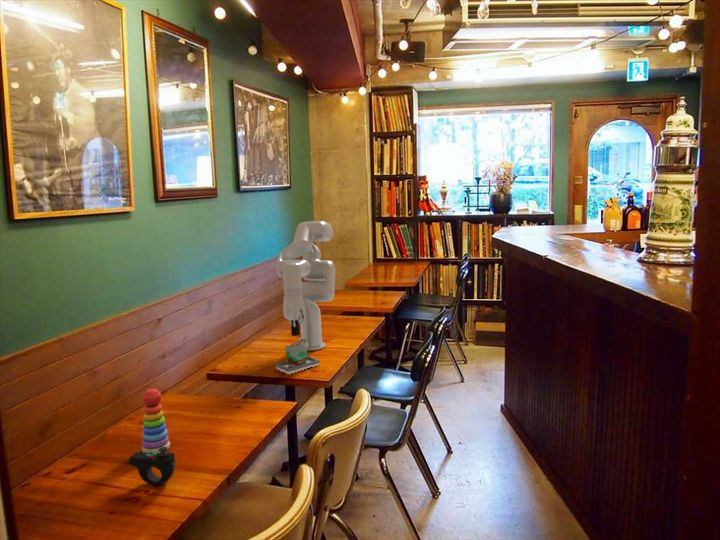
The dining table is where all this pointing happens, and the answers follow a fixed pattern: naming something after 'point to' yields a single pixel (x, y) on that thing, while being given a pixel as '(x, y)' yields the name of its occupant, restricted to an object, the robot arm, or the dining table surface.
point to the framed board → (309, 363)
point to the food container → (297, 353)
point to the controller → (154, 465)
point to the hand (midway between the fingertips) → (295, 335)
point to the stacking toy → (153, 423)
